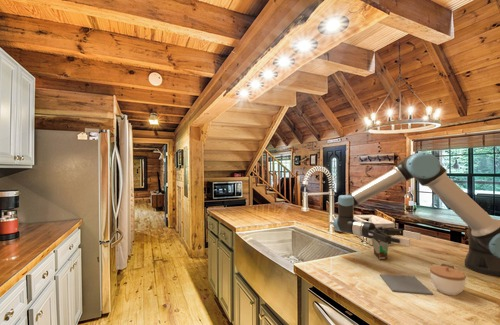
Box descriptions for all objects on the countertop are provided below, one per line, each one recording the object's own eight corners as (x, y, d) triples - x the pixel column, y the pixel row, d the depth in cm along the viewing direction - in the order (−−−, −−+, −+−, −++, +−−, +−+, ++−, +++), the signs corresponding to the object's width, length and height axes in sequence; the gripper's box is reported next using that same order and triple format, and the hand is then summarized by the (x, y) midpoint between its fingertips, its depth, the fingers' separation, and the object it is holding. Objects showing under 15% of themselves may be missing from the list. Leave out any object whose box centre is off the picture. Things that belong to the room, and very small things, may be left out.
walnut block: (442, 272, 108) (442, 263, 108) (454, 275, 104) (453, 266, 105) (440, 274, 105) (440, 265, 105) (451, 278, 102) (451, 268, 102)
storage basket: (396, 246, 143) (396, 222, 143) (370, 247, 142) (370, 222, 143) (374, 235, 167) (374, 214, 167) (352, 235, 166) (351, 214, 166)
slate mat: (414, 277, 102) (414, 276, 102) (433, 295, 88) (433, 293, 88) (379, 275, 105) (379, 274, 105) (392, 291, 91) (392, 290, 91)
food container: (393, 262, 119) (393, 242, 119) (380, 261, 120) (380, 241, 120) (384, 253, 131) (384, 235, 131) (372, 252, 132) (372, 235, 132)
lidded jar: (472, 295, 88) (472, 270, 88) (455, 301, 84) (454, 275, 84) (440, 282, 98) (440, 259, 98) (423, 287, 94) (423, 263, 94)
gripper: (375, 232, 123) (424, 242, 107) (351, 241, 108) (404, 255, 91) (375, 218, 124) (424, 226, 107) (351, 225, 108) (404, 236, 91)
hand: (415, 239), depth 99 cm, fingers open, 13 cm apart
